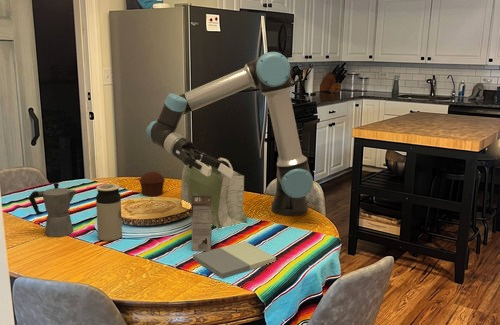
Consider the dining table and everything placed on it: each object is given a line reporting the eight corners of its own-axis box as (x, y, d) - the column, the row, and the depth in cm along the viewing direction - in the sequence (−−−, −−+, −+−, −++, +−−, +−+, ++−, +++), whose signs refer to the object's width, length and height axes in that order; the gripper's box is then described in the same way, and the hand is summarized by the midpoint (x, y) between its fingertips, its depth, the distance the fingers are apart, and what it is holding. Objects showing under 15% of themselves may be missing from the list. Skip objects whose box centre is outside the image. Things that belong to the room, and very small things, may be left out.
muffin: (145, 189, 224) (144, 169, 222) (168, 191, 222) (167, 170, 220) (135, 197, 212) (135, 175, 210) (160, 198, 211) (159, 176, 209)
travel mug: (93, 240, 162) (91, 189, 158) (104, 232, 170) (102, 183, 166) (116, 242, 161) (113, 190, 157) (125, 234, 168) (124, 184, 165)
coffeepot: (79, 226, 175) (76, 178, 171) (79, 235, 166) (76, 185, 162) (32, 230, 169) (28, 181, 165) (30, 240, 161) (26, 188, 157)
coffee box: (192, 240, 164) (192, 195, 160) (211, 240, 164) (211, 195, 161) (191, 251, 155) (191, 203, 152) (211, 250, 156) (211, 203, 152)
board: (244, 245, 161) (244, 241, 160) (275, 261, 148) (275, 257, 148) (193, 259, 149) (193, 254, 148) (222, 278, 136) (222, 273, 136)
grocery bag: (250, 223, 183) (251, 163, 178) (219, 229, 175) (219, 167, 170) (208, 201, 208) (208, 149, 203) (179, 206, 200) (178, 152, 195)
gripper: (197, 159, 183) (237, 185, 172) (150, 152, 162) (193, 182, 151) (205, 141, 181) (246, 166, 170) (159, 132, 160) (202, 160, 149)
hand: (221, 173), depth 161 cm, fingers open, 13 cm apart
